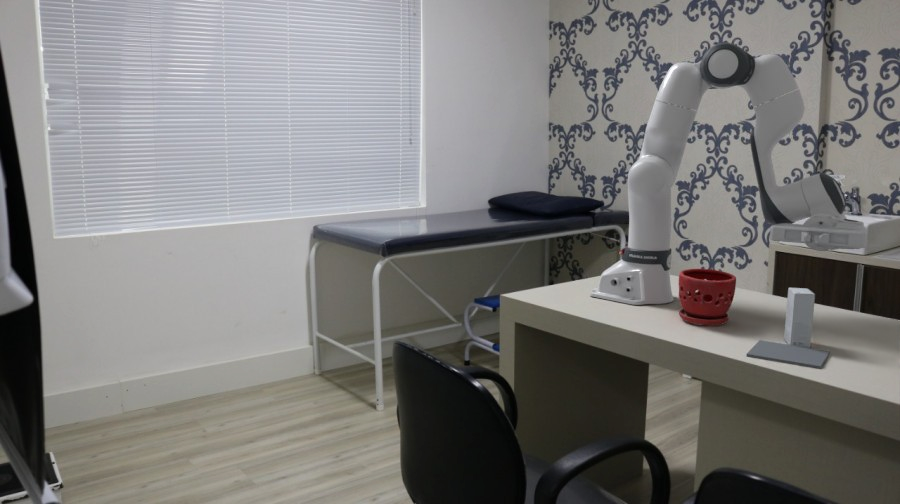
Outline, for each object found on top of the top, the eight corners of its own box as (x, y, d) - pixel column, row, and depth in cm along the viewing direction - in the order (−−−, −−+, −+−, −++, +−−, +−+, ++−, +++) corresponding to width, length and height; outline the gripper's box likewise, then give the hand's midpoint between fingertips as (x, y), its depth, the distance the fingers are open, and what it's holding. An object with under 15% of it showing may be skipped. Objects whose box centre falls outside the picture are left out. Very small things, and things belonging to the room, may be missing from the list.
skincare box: (811, 348, 160) (815, 294, 158) (789, 347, 160) (794, 293, 158) (803, 340, 165) (808, 288, 163) (783, 339, 166) (787, 287, 164)
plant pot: (669, 323, 179) (671, 274, 177) (686, 312, 190) (688, 266, 188) (724, 332, 172) (728, 281, 170) (739, 319, 183) (742, 272, 180)
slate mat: (746, 356, 154) (746, 353, 154) (759, 342, 164) (759, 340, 164) (820, 368, 146) (820, 366, 146) (829, 353, 156) (829, 351, 156)
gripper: (776, 215, 183) (764, 222, 172) (871, 222, 172) (864, 229, 160) (774, 241, 184) (762, 248, 173) (868, 249, 173) (861, 257, 161)
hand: (812, 239), depth 167 cm, fingers closed
